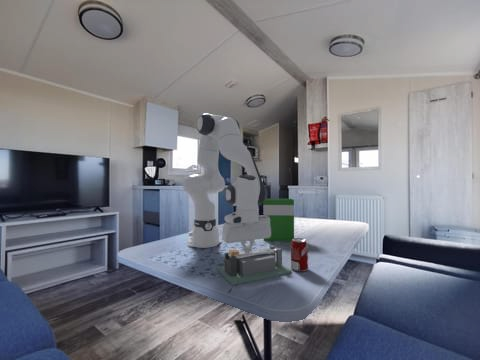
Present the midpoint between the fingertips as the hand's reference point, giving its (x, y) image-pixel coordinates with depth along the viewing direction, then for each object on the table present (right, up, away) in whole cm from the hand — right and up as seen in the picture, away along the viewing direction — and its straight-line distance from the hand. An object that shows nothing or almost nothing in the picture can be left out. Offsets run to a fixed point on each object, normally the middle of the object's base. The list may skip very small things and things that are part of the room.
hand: (247, 251), depth 95 cm
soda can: (+21, -8, +3) cm, 23 cm away
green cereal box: (+20, -8, +49) cm, 53 cm away
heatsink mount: (+2, -8, +1) cm, 9 cm away
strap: (+3, -1, +1) cm, 3 cm away
